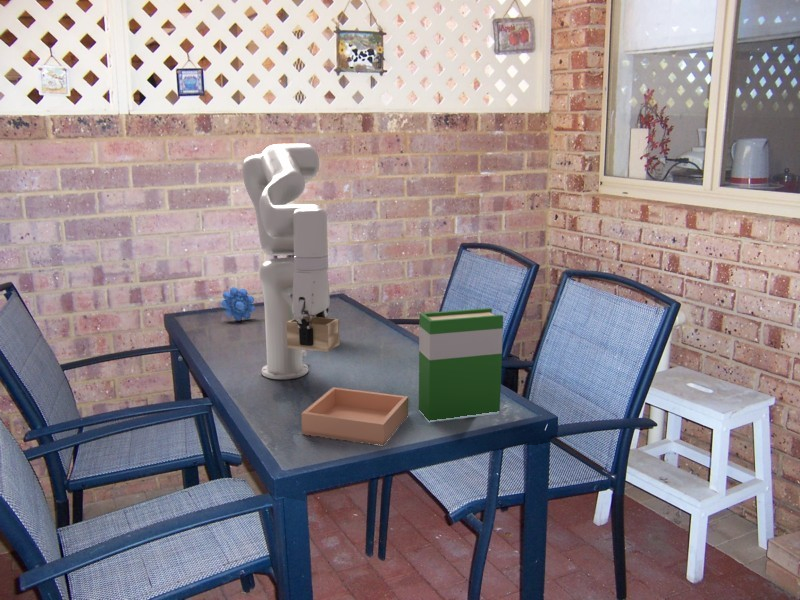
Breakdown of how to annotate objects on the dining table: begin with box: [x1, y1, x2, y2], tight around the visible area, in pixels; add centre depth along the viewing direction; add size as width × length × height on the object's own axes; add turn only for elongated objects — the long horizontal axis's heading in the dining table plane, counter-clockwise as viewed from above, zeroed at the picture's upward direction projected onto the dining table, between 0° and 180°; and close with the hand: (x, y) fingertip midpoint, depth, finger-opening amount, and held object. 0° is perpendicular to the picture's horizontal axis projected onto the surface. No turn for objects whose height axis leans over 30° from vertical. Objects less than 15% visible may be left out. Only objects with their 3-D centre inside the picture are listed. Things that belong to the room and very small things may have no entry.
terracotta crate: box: [300, 386, 409, 446], centre depth 166 cm, size 17×19×5 cm
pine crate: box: [287, 317, 341, 353], centre depth 167 cm, size 6×10×6 cm, turn 70°
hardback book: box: [418, 307, 504, 421], centre depth 171 cm, size 18×7×24 cm, turn 107°
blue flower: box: [220, 286, 256, 322], centre depth 250 cm, size 12×7×12 cm, turn 114°
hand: (313, 340), depth 168 cm, fingers closed on pine crate, 6 cm apart
